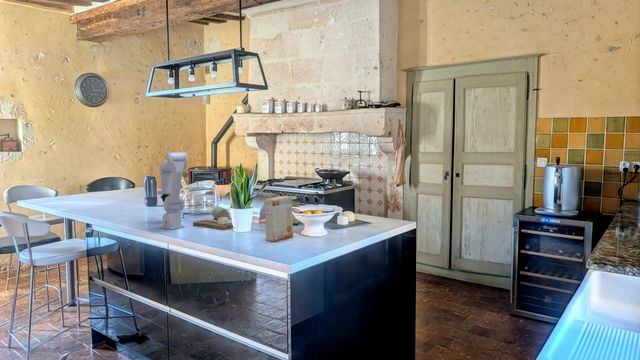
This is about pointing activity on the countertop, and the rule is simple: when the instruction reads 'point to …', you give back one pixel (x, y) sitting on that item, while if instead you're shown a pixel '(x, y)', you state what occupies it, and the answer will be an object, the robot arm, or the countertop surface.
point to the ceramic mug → (220, 212)
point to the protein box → (295, 204)
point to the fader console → (212, 224)
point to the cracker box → (278, 218)
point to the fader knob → (223, 220)
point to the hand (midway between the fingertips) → (167, 207)
